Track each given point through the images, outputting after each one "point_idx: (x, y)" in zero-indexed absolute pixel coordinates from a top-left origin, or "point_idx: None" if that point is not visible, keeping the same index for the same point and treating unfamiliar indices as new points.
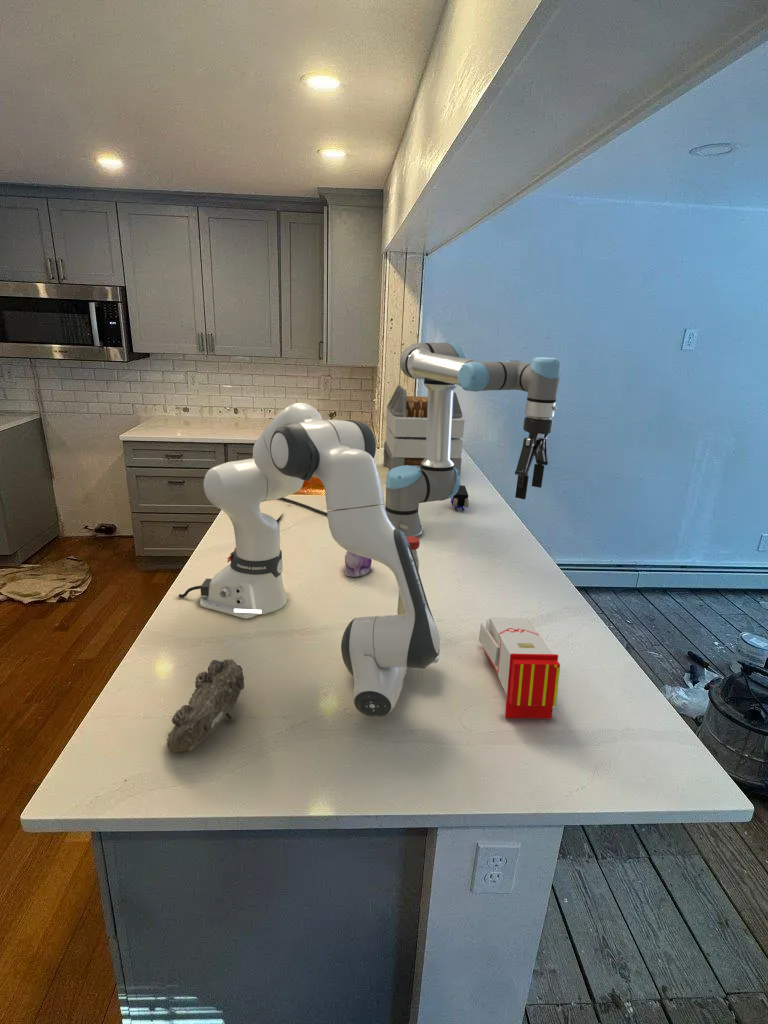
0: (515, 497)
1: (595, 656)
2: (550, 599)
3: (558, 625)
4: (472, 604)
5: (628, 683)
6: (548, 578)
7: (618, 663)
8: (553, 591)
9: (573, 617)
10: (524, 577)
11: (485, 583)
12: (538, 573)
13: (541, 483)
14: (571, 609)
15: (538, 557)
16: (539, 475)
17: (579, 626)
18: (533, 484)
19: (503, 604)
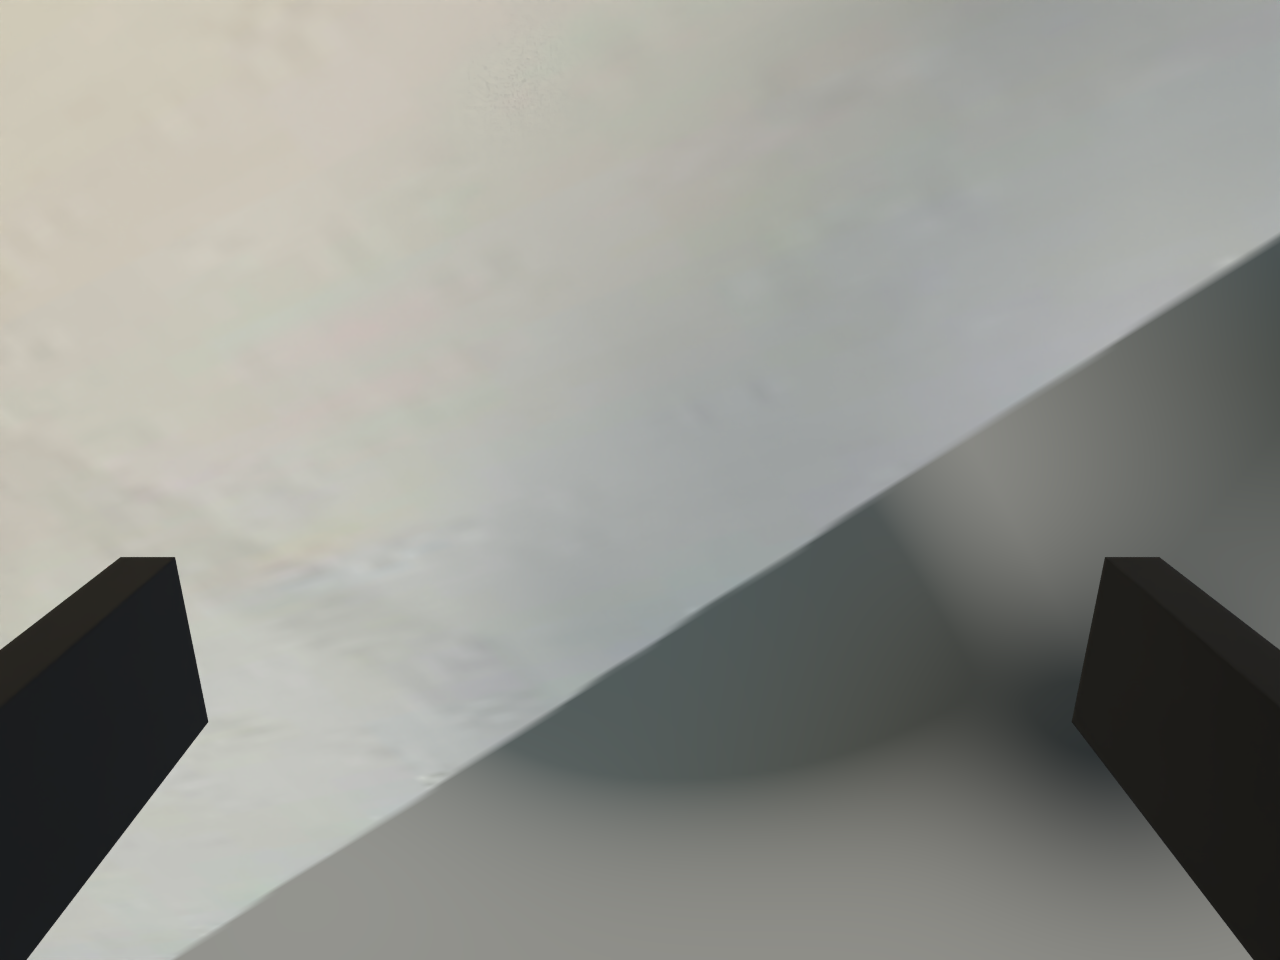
0: (123, 562)
1: (155, 842)
2: (529, 560)
3: (285, 666)
4: (133, 203)
5: (74, 957)
6: (799, 472)
7: (177, 913)
8: (639, 545)
9: (416, 700)
10: (721, 341)
11: (461, 150)
12: (838, 397)
13: (1135, 777)
14: (492, 674)
15: (1116, 312)
16: (1239, 856)
17: (350, 741)
18: (1120, 609)
19: (278, 364)
